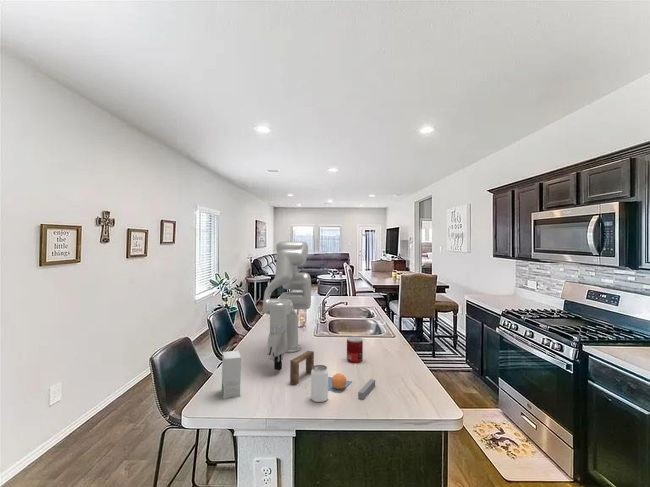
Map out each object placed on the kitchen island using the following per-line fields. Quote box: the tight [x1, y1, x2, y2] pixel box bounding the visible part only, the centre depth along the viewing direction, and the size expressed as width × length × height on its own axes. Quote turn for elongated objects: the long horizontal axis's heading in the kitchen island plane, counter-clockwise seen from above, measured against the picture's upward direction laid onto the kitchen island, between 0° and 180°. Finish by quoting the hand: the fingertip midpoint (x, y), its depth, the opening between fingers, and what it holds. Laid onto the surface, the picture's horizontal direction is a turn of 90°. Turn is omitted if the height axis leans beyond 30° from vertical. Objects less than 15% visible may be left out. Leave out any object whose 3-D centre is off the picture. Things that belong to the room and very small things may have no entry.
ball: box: [332, 373, 347, 389], centre depth 139 cm, size 6×6×6 cm
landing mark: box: [328, 376, 353, 394], centre depth 143 cm, size 12×12×1 cm
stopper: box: [357, 378, 376, 400], centre depth 136 cm, size 2×14×2 cm, turn 153°
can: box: [310, 364, 329, 403], centre depth 130 cm, size 6×6×12 cm
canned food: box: [346, 336, 364, 364], centre depth 172 cm, size 8×8×11 cm
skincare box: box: [221, 350, 242, 400], centre depth 135 cm, size 8×7×16 cm
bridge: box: [289, 350, 315, 386], centre depth 150 cm, size 3×15×10 cm, turn 153°
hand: (278, 369), depth 156 cm, fingers closed
